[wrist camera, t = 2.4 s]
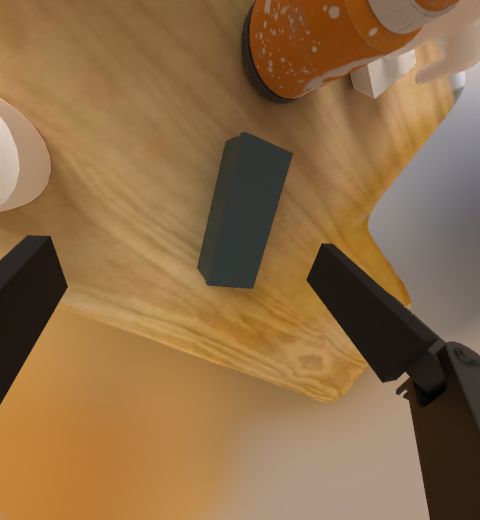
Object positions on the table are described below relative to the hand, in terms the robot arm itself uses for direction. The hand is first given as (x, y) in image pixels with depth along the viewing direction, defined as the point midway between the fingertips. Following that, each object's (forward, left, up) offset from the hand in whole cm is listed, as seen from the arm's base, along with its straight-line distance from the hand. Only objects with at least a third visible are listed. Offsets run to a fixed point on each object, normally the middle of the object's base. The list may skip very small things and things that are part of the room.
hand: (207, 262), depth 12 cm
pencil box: (-2, +7, -15) cm, 17 cm away
